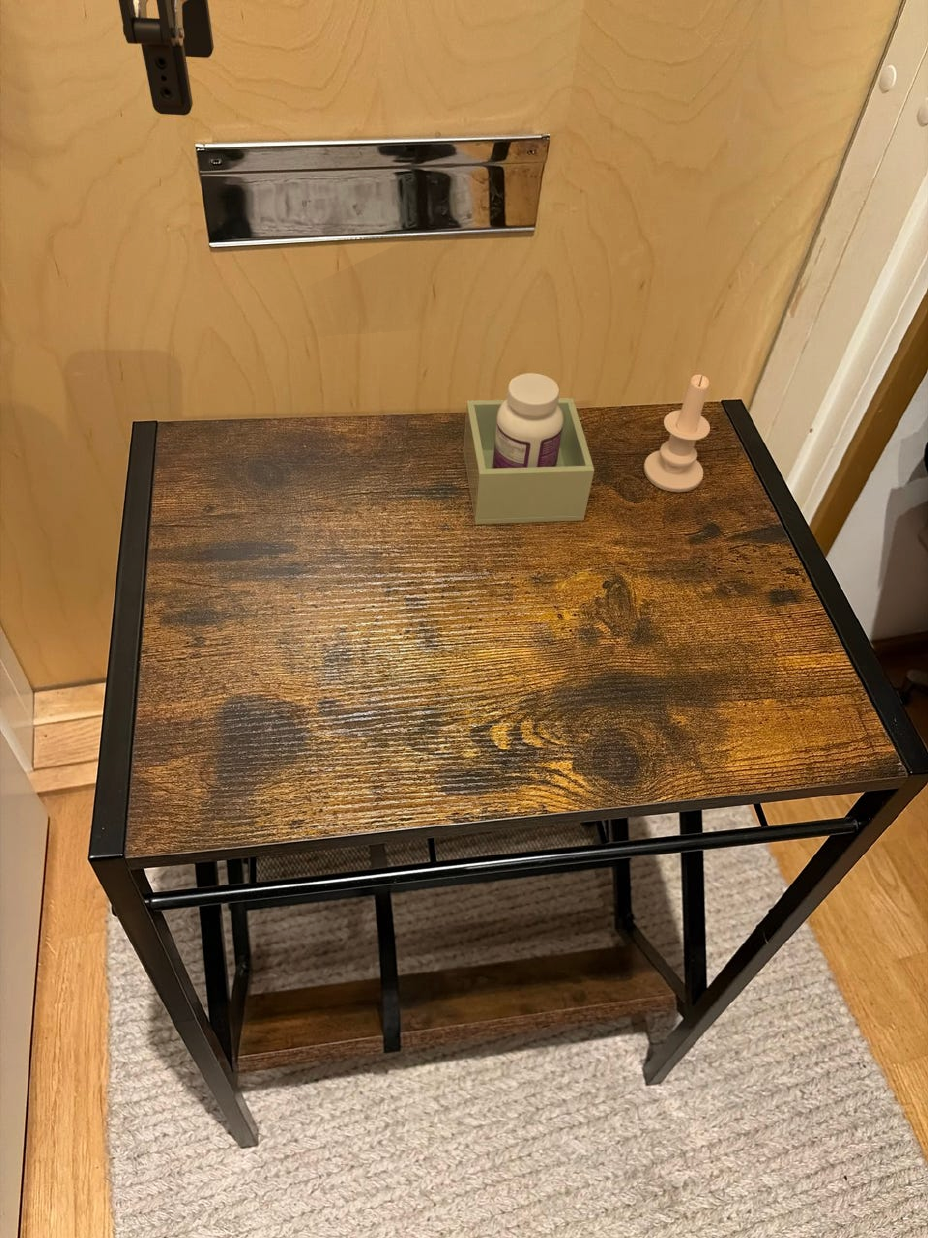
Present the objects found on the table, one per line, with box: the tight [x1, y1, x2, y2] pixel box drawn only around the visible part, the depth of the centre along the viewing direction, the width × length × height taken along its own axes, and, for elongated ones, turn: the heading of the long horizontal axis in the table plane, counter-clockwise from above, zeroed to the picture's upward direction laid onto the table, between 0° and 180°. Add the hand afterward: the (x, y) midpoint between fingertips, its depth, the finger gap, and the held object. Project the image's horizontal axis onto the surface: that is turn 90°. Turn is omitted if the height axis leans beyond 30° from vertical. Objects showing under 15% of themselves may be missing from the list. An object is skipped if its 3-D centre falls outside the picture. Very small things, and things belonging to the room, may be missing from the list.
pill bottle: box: [492, 372, 563, 469], centre depth 77 cm, size 5×5×10 cm
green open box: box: [462, 397, 595, 526], centre depth 79 cm, size 9×9×6 cm
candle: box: [642, 374, 711, 493], centre depth 79 cm, size 5×5×10 cm
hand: (186, 82), depth 58 cm, fingers open, 8 cm apart
